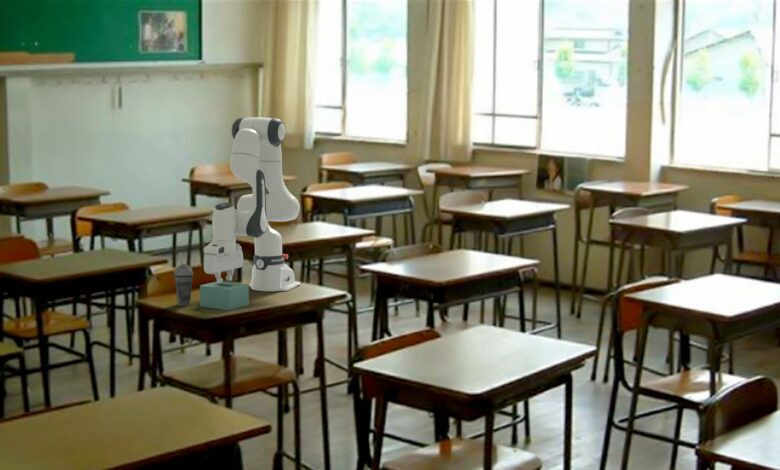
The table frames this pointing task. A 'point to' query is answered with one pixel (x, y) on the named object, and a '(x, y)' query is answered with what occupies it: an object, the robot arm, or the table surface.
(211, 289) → the box
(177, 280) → the beverage cup
